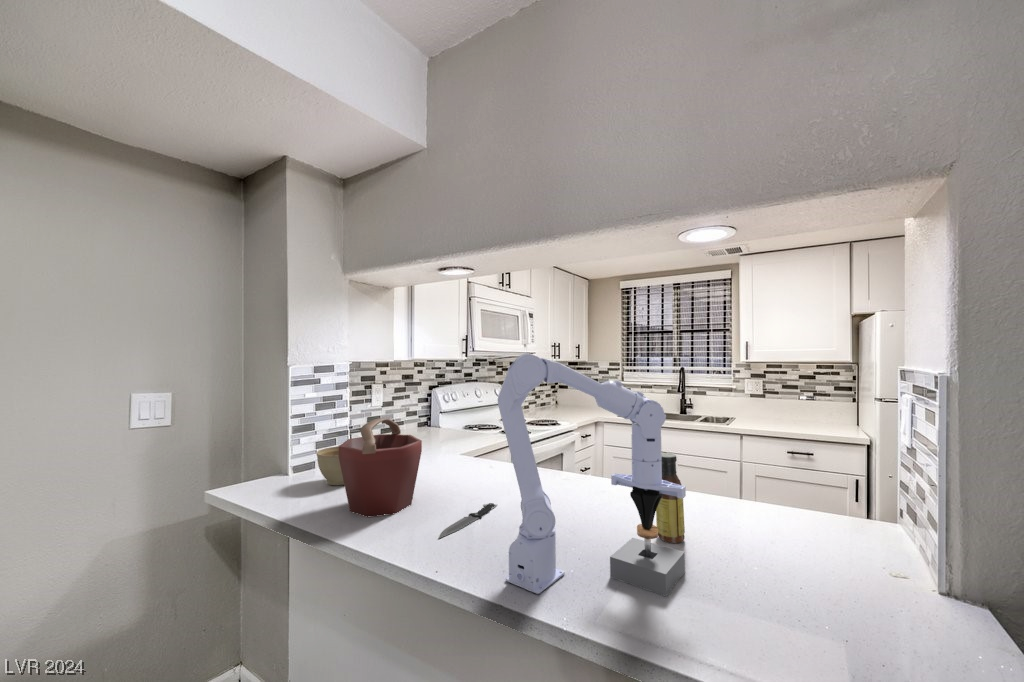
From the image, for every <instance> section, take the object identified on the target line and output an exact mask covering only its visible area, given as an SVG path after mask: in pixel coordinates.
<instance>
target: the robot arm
mask: <svg viewBox="0 0 1024 682" xmlns="http://www.w3.org/2000/svg"><path fill="white" fill-rule="evenodd" d="M543 382H545V383H546V384H553V383H554V384H555V383H560V384H561V383H562V384H564V385H566V386H568V387H570V388H573V389H575V390H578V391H579V392H582V393H584V394H587V395H589V396H591V397H592V398H594V399H595V402H596V405H597V406H598V407H599V408H601V409H603V410H605V411H608V412H609V413H612V414H613V415H616V416H617V417H620V418H622V419H625V420H629V421H630V422H631V474H622V473H613V474H611V477H610V478H611V479H610V481H611V486H623V487H628V488H631V489H632V490H631V491H630V493H629V494H630V498H631V499H632V501H633V503H634V505H635V507H636V509H637V513H638V515H639V519H640V524H642V528H646V529H650V528H651V527H652V526H653V525H654V519H655V517H656V509H657V507H658V504H659V502H660V500H661V498H662V496H663V494H666V495H671V496H676V497H677V498H680V499H683V500H684V498H685V497H686V495H687V494H686V492H687V490H686V485H682V484H681V485H678V484H674V483H671V482H668V481H665V480H662V454H661V453H662V426H663V425H665V422H666V419H667V414H666V413H665V411H664V408H663V406H661V405H662V404H661V403H659V402H658V401H655V400H652V399H649V398H647V397H646V396H645V394H644V393H643V392H642V391H637V392H635V391H634V390H631V389H629V388H627V387H625V386H623V382H621V381H619V380H617V379H616V380H614V381H612V380H606V381H604V382H599V381H597V380H595V379H593V378H591V377H589V376H587V375H585V374H583V373H581V372H579V371H577V370H575V369H573V368H572V367H568V366H567V365H564V364H563V363H561V362H557V361H554V360H550V359H547V358H543V357H539V356H538V355H535V354H531V353H524V354H521V355H519V356H517V357H516V358H515V360H514V361H513V362H512V363H511V364H510V366H509V367H508V368H507V372H506V375H505V376H504V380H503V382H502V385H501V388H500V391H499V393H498V396H497V406H498V409H499V413H500V418H501V421H502V426H503V429H504V433H505V437H506V441H507V445H508V449H509V453H510V457H511V460H512V465H513V468H514V472H515V473H514V474H515V477H516V480H517V484H518V489H519V494H520V497H521V501H520V510H521V511H520V512H521V515H522V520H521V524H520V525H519V527H518V535H517V536H516V539H514V541H513V542H511V544H510V545H509V548H508V575H507V576H506V577H505V582H508V583H510V584H513V585H515V586H518V587H520V588H522V589H525V590H527V591H529V592H531V593H534V594H536V595H539V594H541V593H542V592H543V591H545V589H547V588H548V587H550V586H552V584H554V583H555V582H556V581H557V580H559V579H560V578H562V577H563V576H564V575H565V574H566V573H565V570H562V569H560V568H557V563H556V562H557V561H556V560H557V556H556V555H557V553H556V552H557V550H556V549H557V547H556V545H557V543H556V538H557V537H556V532H557V531H556V523H557V522H556V517H555V514H554V511H553V509H552V503H551V499H550V498H549V495H547V493H546V492H545V490H544V489H543V486H542V482H541V477H540V474H539V470H538V466H537V462H536V459H535V454H534V451H533V447H532V442H531V438H530V435H529V432H528V431H529V430H528V427H527V422H526V419H525V415H524V412H523V407H522V405H523V403H524V402H525V400H526V399H527V397H528V395H529V394H530V392H532V390H534V389H536V388H538V386H539V385H541V383H543Z"/></svg>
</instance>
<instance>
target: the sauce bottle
mask: <svg viewBox="0 0 1024 682" xmlns="http://www.w3.org/2000/svg"><path fill="white" fill-rule="evenodd" d="M661 454H662V480H665V481H668V482H671V483H674V484H678V485H682V483H681V480H680V479H679V476H678V475H677V460H678V459H677V455H676V454H675V453H669V452H661ZM655 517H656V527H657V528H658V538H659V539H660V540H661V541H662V542H663V541H664V543H668V544H680V543H682V542H684V541H685V539H686V538H685V532H686V531H685V511H684V498H683V499H680V498H677V497H676V496H671V495H666V494H663V496H662V498H661V500H660V502H659V504H658V507H657V509H656V512H655Z"/></svg>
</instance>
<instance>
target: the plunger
mask: <svg viewBox="0 0 1024 682" xmlns="http://www.w3.org/2000/svg"><path fill="white" fill-rule="evenodd" d="M636 535H637V536H638V537H640V538H642V539H643V541H644V545H645V556H647V557H650V556H651V543H652V541H651V540H654V539H657V538H659V536H658V528H657V525H655V524H653V526H652V527H651V528H650V529H646V528H642V523H639V524H637V526H636Z"/></svg>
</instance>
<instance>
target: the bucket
mask: <svg viewBox="0 0 1024 682" xmlns="http://www.w3.org/2000/svg"><path fill="white" fill-rule="evenodd" d="M381 423H384V424H385V425H386V426H388V427H389V429H390V430H391V434H384V433H383V434H382V433H381V434H380V433H379V434H374V433H373V430H374V428H375V427H377V425H379V424H381ZM359 431H360V435H361V437H353V438H348V439H347V440H345V441H344V442H342V444H340V445H338V446H339V461H340V466H341V471H342V476H343V480H344V485H343V486H344V489H345V490H344V491H345V494H346V498H347V499H346V500H347V502H348V503H347V504H348V509H349V512H350V511H351V512H350V513H352V512H354V513H353V514H356V513H358V514H357V515H359V514H361V515H360V516H362V515H364V516H363V517H365V516H367V517H366V518H369V517H368V516H374V517H378V516H377V515H382V516H385V515H384V514H390V515H394V514H393V513H397V512H398V513H400V512H402V511H403V510H405V509H406V507H407V506H408V507H410V506H412V505H413V504H412V503H413V498H414V492H415V489H416V488H415V487H416V483H417V478H418V477H417V476H418V471H419V468H420V467H419V466H420V461H421V455H422V449H423V448H422V447H423V446H422V445H423V444H422V442H423V441H422V440H421V439H420V438H417V437H415V436H414V435H411V434H401V428H400V426H399V424H398V423H397V422H395V420H392V419H391V418H385V417H384V418H381V417H380V418H379V417H378V418H375V419H372V420H369V421H368V422H366V423H365V424H363V425H362V426H361V427H360V428H359ZM409 505H410V506H409ZM408 507H407V508H408ZM404 508H405V509H404ZM402 509H403V510H402ZM401 510H402V511H401ZM399 511H400V512H399ZM398 513H397V514H398Z"/></svg>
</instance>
